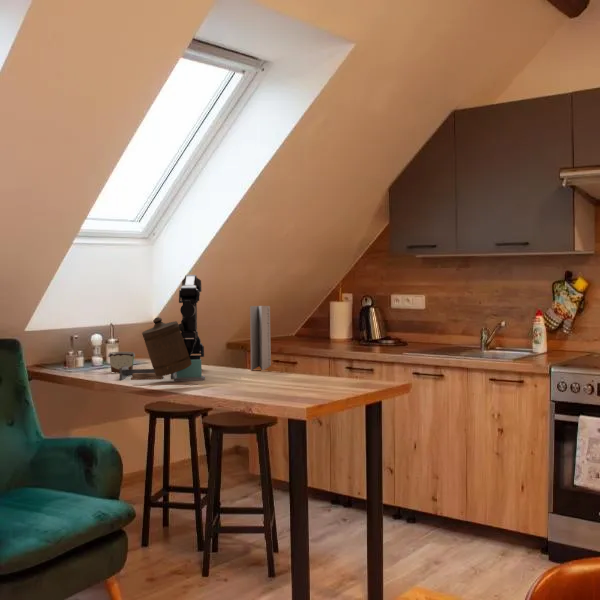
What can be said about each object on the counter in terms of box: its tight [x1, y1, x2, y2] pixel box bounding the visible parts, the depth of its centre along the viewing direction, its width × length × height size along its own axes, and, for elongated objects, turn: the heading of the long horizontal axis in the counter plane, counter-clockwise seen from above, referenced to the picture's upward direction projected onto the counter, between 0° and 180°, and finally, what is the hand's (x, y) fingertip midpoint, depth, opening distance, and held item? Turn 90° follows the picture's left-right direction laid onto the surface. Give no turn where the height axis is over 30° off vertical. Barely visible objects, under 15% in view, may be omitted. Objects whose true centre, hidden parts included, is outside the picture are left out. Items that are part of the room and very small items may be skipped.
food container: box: [107, 351, 136, 372], centre depth 358 cm, size 12×6×10 cm, turn 84°
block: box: [176, 359, 203, 378], centre depth 323 cm, size 10×3×7 cm, turn 95°
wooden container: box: [141, 316, 192, 377], centre depth 312 cm, size 15×15×22 cm
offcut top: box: [131, 373, 162, 377], centre depth 329 cm, size 12×3×2 cm, turn 93°
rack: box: [119, 365, 177, 381], centre depth 336 cm, size 22×20×5 cm
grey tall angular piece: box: [249, 305, 272, 371], centre depth 349 cm, size 14×6×30 cm, turn 168°
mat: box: [173, 375, 206, 382], centre depth 323 cm, size 12×10×1 cm
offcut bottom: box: [130, 376, 165, 381], centre depth 329 cm, size 13×4×2 cm, turn 93°
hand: (189, 355), depth 323 cm, fingers open, 9 cm apart
